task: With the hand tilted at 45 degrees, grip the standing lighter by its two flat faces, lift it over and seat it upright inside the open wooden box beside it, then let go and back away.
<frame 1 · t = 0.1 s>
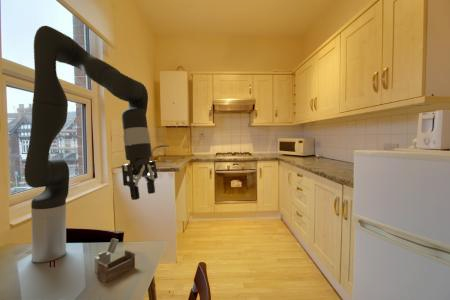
hand: (144, 196, 69), 22 cm above the table, tool pointing down, fingers open, 8 cm apart
open wooden box: (117, 272, 67), on the table
lighter: (107, 267, 70), on the table
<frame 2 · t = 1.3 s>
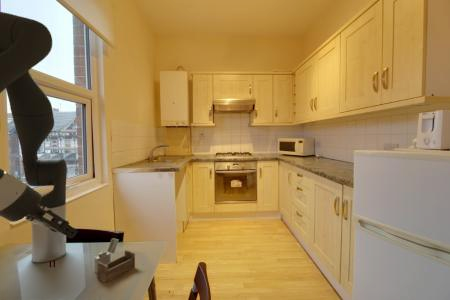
hand: (66, 231, 60), 15 cm above the table, tool tilted 45°, fingers open, 8 cm apart
nothing on the table moved.
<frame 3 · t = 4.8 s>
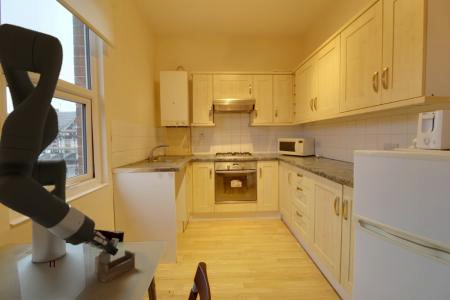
hand: (113, 251, 72), 4 cm above the table, tool tilted 45°, fingers closed on lighter, 2 cm apart
lighter: (107, 267, 70), on the table, touching gripper
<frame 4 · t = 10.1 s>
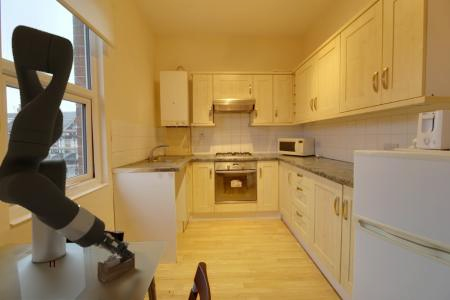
hand: (122, 253, 68), 5 cm above the table, tool tilted 45°, fingers open, 6 cm apart
lighter: (116, 272, 67), resting on open wooden box
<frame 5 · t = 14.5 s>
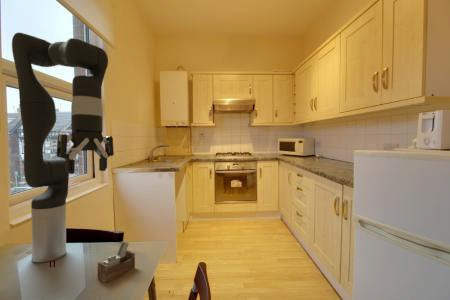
hand: (87, 172, 64), 30 cm above the table, tool pointing down, fingers open, 8 cm apart
nothing on the table moved.
at the end: lighter inside the target area on the open wooden box (0.1 cm from its centre), point 0.2 cm above the open wooden box's base; lighter tilted 0°; the gripper is holding nothing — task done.
